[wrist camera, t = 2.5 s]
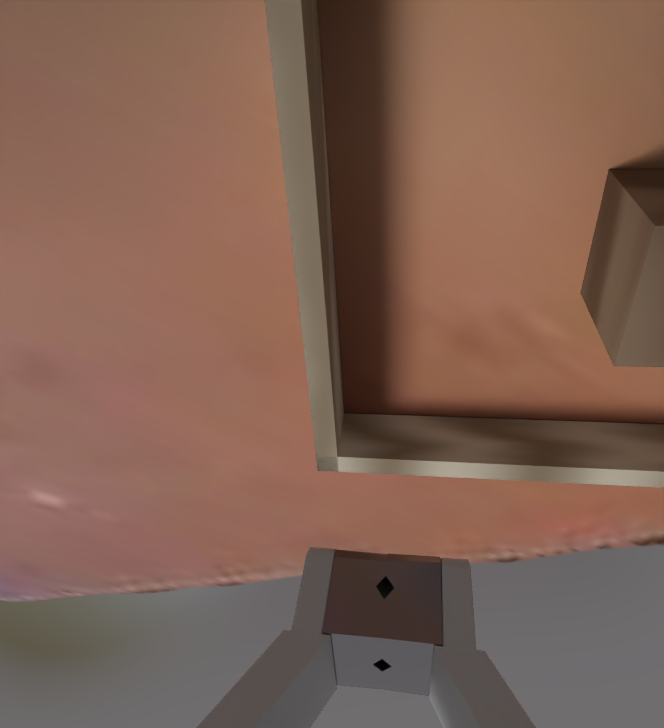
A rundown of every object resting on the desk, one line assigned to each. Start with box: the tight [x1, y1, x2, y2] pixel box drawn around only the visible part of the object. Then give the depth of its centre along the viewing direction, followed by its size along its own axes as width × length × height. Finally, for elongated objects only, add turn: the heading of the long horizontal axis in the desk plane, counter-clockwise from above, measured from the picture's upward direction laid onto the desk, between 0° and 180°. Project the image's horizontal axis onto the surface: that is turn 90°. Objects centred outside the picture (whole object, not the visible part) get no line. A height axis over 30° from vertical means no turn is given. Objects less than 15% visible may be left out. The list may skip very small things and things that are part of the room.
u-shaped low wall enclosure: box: [265, 0, 664, 488], centre depth 20 cm, size 20×21×3 cm
